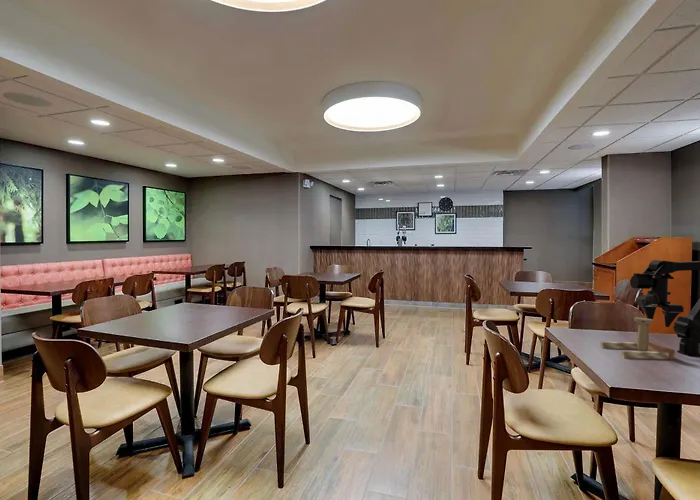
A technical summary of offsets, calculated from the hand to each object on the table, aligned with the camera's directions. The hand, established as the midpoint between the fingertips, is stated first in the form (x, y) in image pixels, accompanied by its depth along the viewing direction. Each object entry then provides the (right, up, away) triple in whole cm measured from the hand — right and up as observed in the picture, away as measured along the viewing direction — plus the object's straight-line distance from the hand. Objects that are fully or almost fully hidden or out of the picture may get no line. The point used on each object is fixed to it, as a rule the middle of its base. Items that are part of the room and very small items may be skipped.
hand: (658, 324), depth 159 cm
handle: (-7, -13, 0) cm, 14 cm away
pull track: (-10, -12, 0) cm, 16 cm away
